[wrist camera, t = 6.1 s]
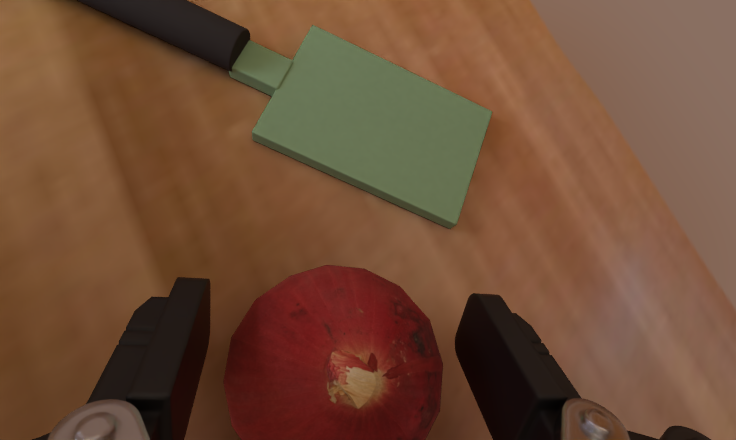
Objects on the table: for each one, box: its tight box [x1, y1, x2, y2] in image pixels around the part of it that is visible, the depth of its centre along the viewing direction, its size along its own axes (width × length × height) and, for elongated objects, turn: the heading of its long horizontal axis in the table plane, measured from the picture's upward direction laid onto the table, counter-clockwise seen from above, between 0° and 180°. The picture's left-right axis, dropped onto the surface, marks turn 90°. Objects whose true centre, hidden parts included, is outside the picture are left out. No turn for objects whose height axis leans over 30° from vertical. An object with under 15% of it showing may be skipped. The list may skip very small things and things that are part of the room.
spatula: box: [77, 0, 492, 229], centre depth 17 cm, size 22×6×2 cm, turn 69°
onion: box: [223, 265, 443, 440], centre depth 11 cm, size 6×6×8 cm
